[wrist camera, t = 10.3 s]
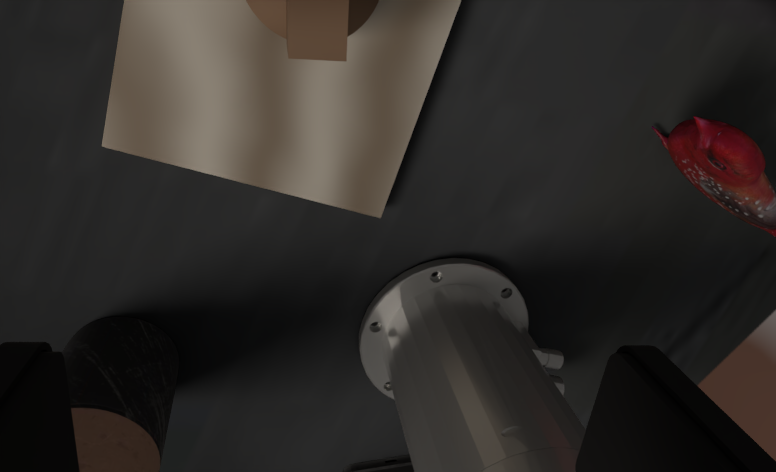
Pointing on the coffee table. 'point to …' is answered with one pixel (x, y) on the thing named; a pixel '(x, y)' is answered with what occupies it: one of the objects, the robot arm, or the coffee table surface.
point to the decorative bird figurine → (724, 168)
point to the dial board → (274, 97)
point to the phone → (383, 465)
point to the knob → (314, 24)
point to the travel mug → (120, 393)
